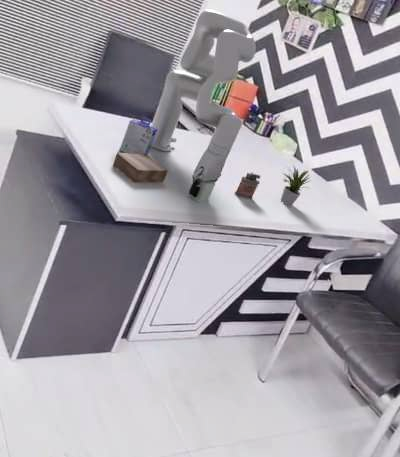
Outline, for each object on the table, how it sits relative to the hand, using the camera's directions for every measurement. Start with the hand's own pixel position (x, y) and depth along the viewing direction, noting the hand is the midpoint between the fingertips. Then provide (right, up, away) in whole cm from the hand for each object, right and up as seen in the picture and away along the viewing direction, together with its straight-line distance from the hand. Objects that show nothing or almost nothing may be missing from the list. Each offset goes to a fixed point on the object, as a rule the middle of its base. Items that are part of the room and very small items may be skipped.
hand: (198, 194), depth 184 cm
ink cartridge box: (-25, +16, +13) cm, 32 cm away
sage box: (-1, -1, 0) cm, 1 cm away
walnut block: (-21, +7, -2) cm, 22 cm away
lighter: (+17, 0, +21) cm, 27 cm away
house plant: (+36, -1, +36) cm, 51 cm away
